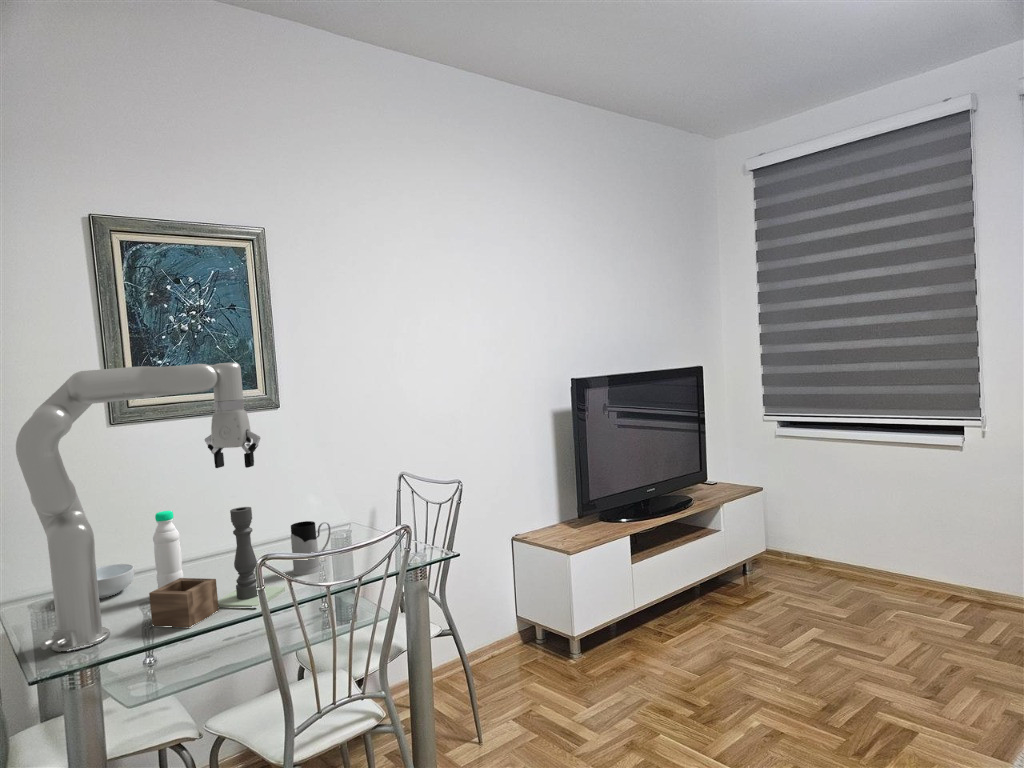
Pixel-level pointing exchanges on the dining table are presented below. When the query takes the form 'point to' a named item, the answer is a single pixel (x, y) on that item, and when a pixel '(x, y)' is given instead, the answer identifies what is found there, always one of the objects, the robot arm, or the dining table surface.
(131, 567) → the cereal bowl
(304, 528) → the gray black mug
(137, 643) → the dining table surface
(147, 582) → the dining table surface
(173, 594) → the walnut sleeve
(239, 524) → the candle holder
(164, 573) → the water bottle
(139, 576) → the dining table surface
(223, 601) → the sage mat
